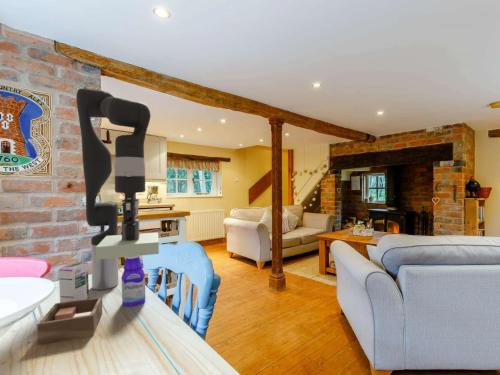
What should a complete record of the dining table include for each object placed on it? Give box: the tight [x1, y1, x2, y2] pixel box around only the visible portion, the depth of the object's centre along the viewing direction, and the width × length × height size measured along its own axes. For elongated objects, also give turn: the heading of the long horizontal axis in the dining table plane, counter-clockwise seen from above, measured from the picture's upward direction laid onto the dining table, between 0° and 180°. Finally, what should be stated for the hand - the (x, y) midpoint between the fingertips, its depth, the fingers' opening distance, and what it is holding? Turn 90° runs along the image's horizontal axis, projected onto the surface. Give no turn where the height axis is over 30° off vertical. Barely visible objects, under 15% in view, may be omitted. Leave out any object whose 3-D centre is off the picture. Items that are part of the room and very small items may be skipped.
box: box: [37, 296, 103, 346], centre depth 72 cm, size 12×12×6 cm
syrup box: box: [58, 261, 90, 303], centre depth 85 cm, size 6×6×14 cm
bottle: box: [120, 256, 146, 308], centre depth 87 cm, size 7×6×17 cm
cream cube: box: [74, 312, 92, 317], centre depth 71 cm, size 4×4×4 cm
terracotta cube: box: [55, 307, 76, 320], centre depth 74 cm, size 4×4×4 cm
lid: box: [96, 218, 160, 260], centre depth 71 cm, size 14×14×8 cm
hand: (131, 237), depth 71 cm, fingers closed on lid, 4 cm apart
